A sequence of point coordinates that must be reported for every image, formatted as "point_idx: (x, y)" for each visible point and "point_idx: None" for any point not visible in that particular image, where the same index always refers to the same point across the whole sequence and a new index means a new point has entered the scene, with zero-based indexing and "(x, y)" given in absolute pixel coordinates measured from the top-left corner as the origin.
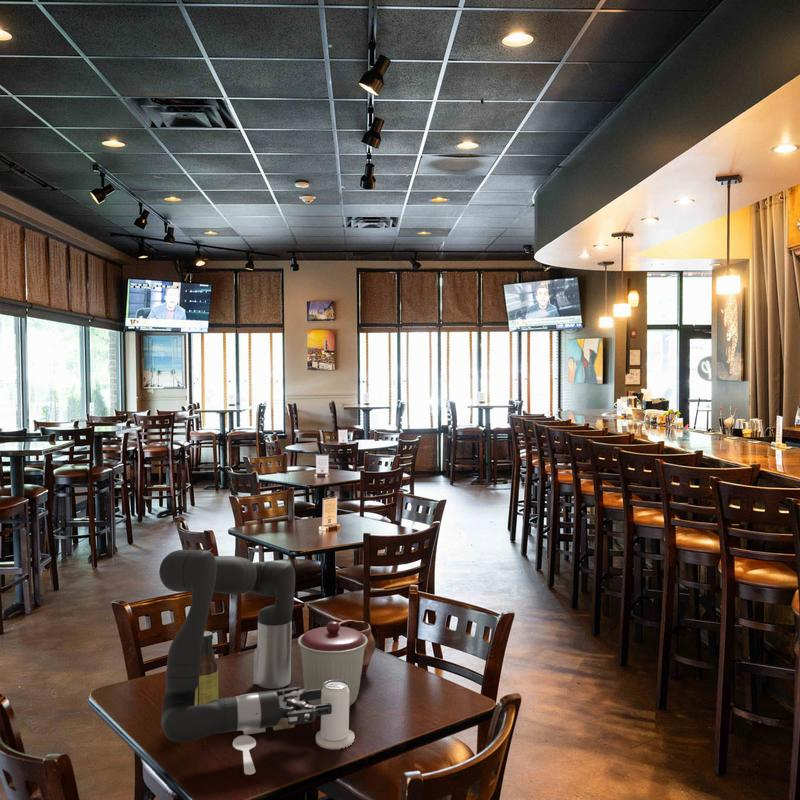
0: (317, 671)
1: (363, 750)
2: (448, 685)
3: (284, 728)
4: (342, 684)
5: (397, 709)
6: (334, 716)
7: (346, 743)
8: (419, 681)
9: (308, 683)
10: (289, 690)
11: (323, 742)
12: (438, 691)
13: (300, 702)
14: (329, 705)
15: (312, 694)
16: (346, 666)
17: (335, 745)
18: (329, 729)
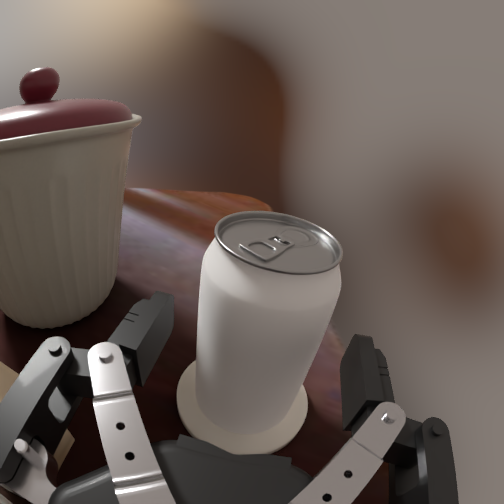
0: (34, 224)
1: (332, 372)
2: (175, 192)
3: (59, 467)
4: (277, 226)
5: (188, 247)
6: (311, 362)
7: (304, 391)
8: (135, 198)
9: (7, 277)
10: (38, 405)
11: (270, 444)
12: (180, 202)
13: (341, 474)
14: (370, 344)
15: (154, 338)
16: (119, 178)
17: (303, 421)
18: (286, 405)
